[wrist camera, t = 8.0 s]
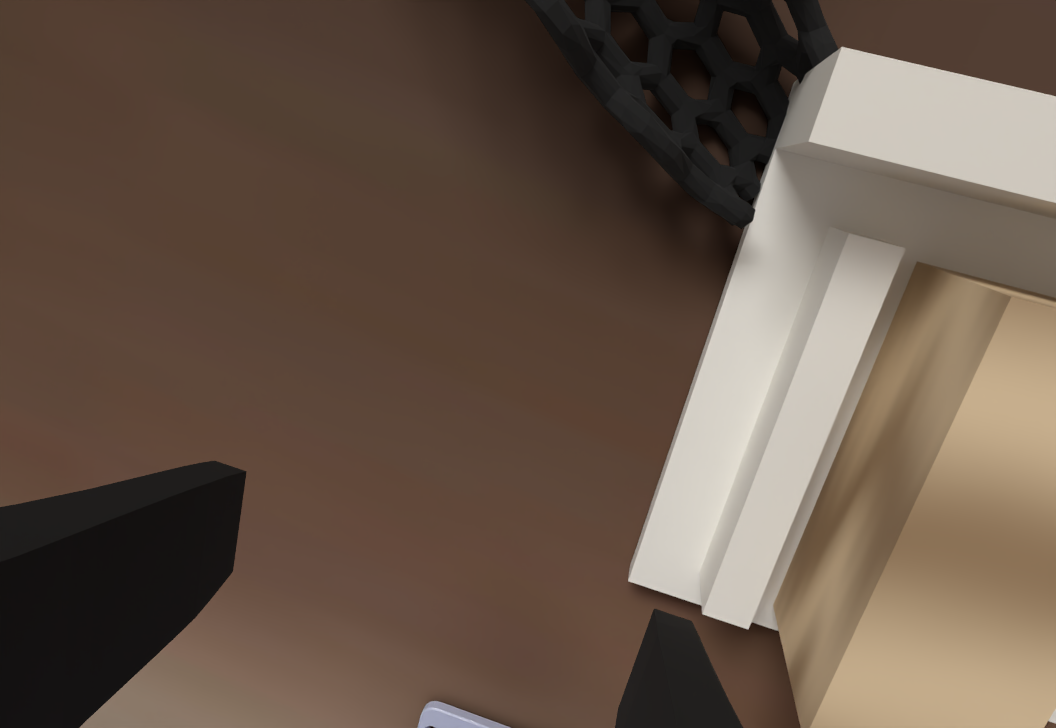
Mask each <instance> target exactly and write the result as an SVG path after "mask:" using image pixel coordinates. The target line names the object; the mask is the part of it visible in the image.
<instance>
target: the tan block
mask: <svg viewBox="0 0 1056 728" xmlns="http://www.w3.org/2000/svg"><path fill="white" fill-rule="evenodd" d="M773 607H774V612H775V616H776V621H777V625H778V630H779V634H780V638H781V643H782V647H783V652H784V656H785V661H786V665H787V669H788V674H789V678H790V683H791V687H792V692H793V696H794V700H795V705H796V709H797V714H798V718H799V723H800V727H801V728H1044V727H1045V725H1046V724H1047V722H1048V720H1049V719H1050V717H1051V715H1052V714H1053V712H1054V710H1055V709H1056V298H1055V297H1051V296H1047V295H1043V294H1039V293H1036V292H1032V291H1028V290H1024V289H1020V288H1017V287H1013V286H1009V285H1005V284H1001V283H998V282H994V281H990V280H986V279H982V278H979V277H975V276H971V275H967V274H963V273H960V272H956V271H952V270H948V269H944V268H941V267H937V266H933V265H929V264H925V263H922V262H918V261H917V263H916V265H915V267H914V270H913V272H912V274H911V277H910V279H909V282H908V284H907V286H906V289H905V291H904V294H903V296H902V298H901V301H900V303H899V306H898V308H897V310H896V313H895V315H894V317H893V320H892V322H891V325H890V327H889V329H888V332H887V334H886V337H885V339H884V341H883V344H882V346H881V349H880V351H879V353H878V356H877V358H876V360H875V363H874V365H873V368H872V370H871V372H870V375H869V377H868V380H867V382H866V384H865V387H864V389H863V392H862V394H861V396H860V399H859V401H858V403H857V406H856V408H855V411H854V413H853V415H852V418H851V420H850V423H849V425H848V427H847V430H846V432H845V435H844V437H843V439H842V442H841V444H840V446H839V449H838V451H837V454H836V456H835V458H834V461H833V463H832V466H831V468H830V470H829V473H828V475H827V477H826V480H825V482H824V485H823V487H822V489H821V492H820V494H819V497H818V499H817V501H816V504H815V506H814V509H813V511H812V513H811V516H810V518H809V520H808V523H807V525H806V528H805V530H804V532H803V535H802V537H801V540H800V542H799V544H798V547H797V549H796V552H795V554H794V556H793V559H792V561H791V563H790V566H789V568H788V571H787V573H786V575H785V578H784V580H783V583H782V585H781V587H780V590H779V592H778V595H777V597H776V599H775V602H774V604H773Z"/></svg>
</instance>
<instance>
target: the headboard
mask: <svg viewBox="0 0 1056 728" xmlns="http://www.w3.org/2000/svg"><path fill="white" fill-rule="evenodd" d="M788 100H789V105H788V109H787V114H786V117H785V119H784V122H783V125H782V127H781V130H780V133H779V135H778V138H777V141H776V143H775V146H774V149H773V152H772V154H771V157H770V159H769V162H768V164H766V166H765V169H764V172H763V175H762V178H761V181H760V183H761V188H760V191H759V193H758V194H757V195H756V196H755V198H754V201H753V204H752V207H753V208H754V209H755V214H754V219H753V221H752V222H751V223H749V224H748V225H746V226H745V228H744V231H743V234H742V237H741V240H740V243H739V246H738V249H737V252H736V255H735V257H734V260H733V263H732V266H731V269H730V272H729V275H728V278H727V281H726V284H725V287H724V290H723V293H722V296H721V299H720V302H719V305H718V308H717V311H716V314H715V317H714V320H713V322H712V325H711V328H710V331H709V334H708V337H707V340H706V343H705V346H704V349H703V352H702V355H701V358H700V361H699V364H698V367H697V370H696V373H695V376H694V379H693V382H692V385H691V387H690V390H689V393H688V396H687V399H686V402H685V405H684V408H683V411H682V414H681V417H680V420H679V423H678V426H677V429H676V432H675V435H674V438H673V441H672V444H671V447H670V450H669V452H668V455H667V458H666V461H665V464H664V467H663V470H662V473H661V476H660V479H659V482H658V485H657V488H656V491H655V494H654V497H653V500H652V503H651V506H650V509H649V512H648V515H647V517H646V520H645V523H644V526H643V529H642V532H641V535H640V538H639V541H638V544H637V547H636V550H635V553H634V556H633V559H632V562H631V565H630V570H629V579H628V581H629V582H632V583H635V584H638V585H641V586H644V587H647V588H650V589H653V590H656V591H659V592H662V593H665V594H668V595H671V596H674V597H677V598H680V599H683V600H686V601H689V602H692V603H695V604H698V605H701V606H702V614H703V615H706V616H709V617H712V618H715V619H718V620H721V621H724V622H727V623H730V624H733V625H736V626H739V627H742V628H745V629H749V627H750V624H751V622H753V623H756V624H759V625H762V626H765V627H768V628H771V629H774V630H777V631H779V630H778V625H777V621H776V616H775V612H774V607H773V604H774V602H775V599H776V597H777V595H778V592H779V590H780V587H781V585H782V583H783V580H784V578H785V575H786V573H787V571H788V568H789V566H790V563H791V561H792V559H793V556H794V554H795V552H796V549H797V547H798V544H799V542H800V540H801V537H802V535H803V532H804V530H805V528H806V525H807V523H808V520H809V518H810V516H811V513H812V511H813V509H814V506H815V504H816V501H817V499H818V497H819V494H820V492H821V489H822V487H823V485H824V482H825V480H826V477H827V475H828V473H829V470H830V468H831V466H832V463H833V461H834V458H835V456H836V454H837V451H838V449H839V446H840V444H841V442H842V439H843V437H844V435H845V432H846V430H847V427H848V425H849V423H850V420H851V418H852V415H853V413H854V411H855V408H856V406H857V403H858V401H859V399H860V396H861V394H862V392H863V389H864V387H865V384H866V382H867V380H868V377H869V375H870V372H871V370H872V368H873V365H874V363H875V360H876V358H877V356H878V353H879V351H880V349H881V346H882V344H883V341H884V339H885V337H886V334H887V332H888V329H889V327H890V325H891V322H892V320H893V317H894V315H895V313H896V310H897V308H898V306H899V303H900V301H901V298H902V296H903V294H904V291H905V289H906V286H907V284H908V282H909V279H910V277H911V274H912V272H913V270H914V267H915V265H916V263H917V261H918V262H922V263H925V264H929V265H933V266H937V267H941V268H944V269H948V270H952V271H956V272H960V273H963V274H967V275H971V276H975V277H979V278H982V279H986V280H990V281H994V282H998V283H1001V284H1005V285H1009V286H1013V287H1017V288H1020V289H1024V290H1028V291H1032V292H1036V293H1039V294H1043V295H1047V296H1051V297H1055V298H1056V96H1051V95H1047V94H1043V93H1038V92H1034V91H1030V90H1026V89H1021V88H1017V87H1013V86H1008V85H1004V84H1000V83H995V82H991V81H987V80H982V79H978V78H974V77H969V76H965V75H961V74H956V73H952V72H948V71H943V70H939V69H935V68H931V67H926V66H922V65H918V64H913V63H909V62H905V61H900V60H896V59H892V58H887V57H883V56H879V55H874V54H870V53H866V52H861V51H857V50H853V49H848V48H844V47H841V48H840V49H838V50H837V51H836V52H834V53H833V54H832V55H830V56H829V57H827V58H826V59H825V60H823V61H822V62H821V63H819V64H818V65H817V66H815V67H814V69H811V70H810V71H809V72H807V73H806V74H805V76H804V78H803V81H802V82H801V84H799V81H798V80H796V81H795V82H794V83H793V86H792V89H791V92H790V95H789V98H788ZM1048 721H1050V722H1053V723H1056V709H1055V710H1054V712H1053V714H1052V715H1051V717H1050V719H1049V720H1048Z"/></svg>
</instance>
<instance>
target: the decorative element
mask: <svg viewBox="0 0 1056 728" xmlns="http://www.w3.org/2000/svg"><path fill="white" fill-rule="evenodd" d="M525 1H526V2H527V3H528V4H529V5H530V6H531V8H532V9H533V10H534V11H535V12H536V14H537V15H538V17H539V18H540V20H541V21H542V23H543V25H544V26H545V28H546V29H547V31H548V32H549V34H550V35H551V37H552V38H553V40H554V41H555V43H556V44H557V46H558V47H559V49H560V50H561V52H562V54H563V55H564V57H565V58H566V60H567V62H568V63H569V65H570V66H571V68H572V69H573V71H574V72H575V74H576V75H577V76H578V78H579V79H580V80H581V81H582V82H583V83H584V85H585V86H586V87H587V88H588V89H589V90H590V92H591V93H592V94H593V95H594V96H595V98H596V99H597V100H598V101H599V102H600V103H601V105H602V106H603V107H604V108H605V109H606V110H607V111H608V112H609V113H610V114H611V115H612V116H613V117H614V118H615V119H616V120H617V121H618V122H619V123H620V124H621V125H622V126H623V127H624V128H625V129H626V130H627V131H628V132H629V133H630V134H631V135H632V136H633V137H634V138H635V139H636V140H637V141H638V142H639V143H640V144H641V145H642V146H643V147H644V149H645V150H646V151H647V152H648V153H649V154H650V155H651V156H652V157H653V158H654V159H655V160H656V161H657V162H658V163H659V164H660V165H661V167H662V168H663V169H664V170H665V171H666V172H667V173H668V174H669V175H670V176H671V177H672V178H673V179H674V180H675V181H676V182H677V183H678V184H679V185H680V186H681V187H682V188H683V189H684V190H685V191H686V192H687V193H688V194H689V195H690V196H692V197H693V198H694V199H696V200H697V201H699V202H700V203H701V204H703V205H704V206H706V207H707V208H708V209H710V210H711V211H713V212H714V213H716V214H718V215H720V216H721V217H723V218H724V219H725V220H726V221H727V222H729V223H730V224H731V225H736V226H738V227H739V228H741V229H742V228H744V227H745V226H746V225H748V224H749V223H751V222H752V221H753V219H754V214H755V209H754V208H753V207H752V206H751V205H750V204H749V203H747V202H748V201H749V200H751V199H753V198H754V197H755V196H756V195H757V194H758V193H759V191H760V188H761V183H760V181H759V180H758V179H757V176H756V170H755V165H754V161H758V162H762V163H765V164H768V162H769V159H770V157H771V154H772V152H773V149H774V146H775V143H776V141H777V138H778V135H779V133H780V130H781V127H782V125H783V122H784V119H785V117H786V114H787V109H788V105H789V100H788V98H787V96H786V94H785V92H784V90H783V89H782V87H781V85H780V83H779V81H778V77H779V74H780V71H781V67H782V66H783V67H784V68H786V69H787V70H788V71H790V72H791V73H792V74H794V75H795V76H797V78H798V81H799V84H801V82H802V81H803V78H804V76H805V74H806V73H807V72H809V71H810V70H811V69H814V67H815V66H817V65H818V64H819V63H821V62H822V61H823V60H825V59H826V58H827V57H829V56H830V55H832V54H833V53H834V52H836V51H837V50H838V48H837V45H836V43H835V41H834V39H833V37H832V35H831V32H830V30H829V28H828V26H827V23H826V21H825V19H824V16H823V14H822V11H821V8H820V5H819V2H818V0H784V1H786V3H787V5H788V8H789V10H790V13H791V15H792V18H793V20H794V23H795V25H796V28H797V30H798V40H799V41H797V40H796V39H794V38H793V37H791V36H790V35H788V34H787V32H786V30H785V28H784V25H783V23H782V21H781V19H780V17H779V15H778V13H777V11H776V9H775V7H774V5H773V3H772V1H771V0H700V3H699V7H698V10H697V14H696V17H695V20H694V22H673V21H671V20H669V19H667V18H666V17H665V15H664V13H663V12H662V10H661V9H660V7H659V5H658V4H657V2H656V1H655V0H584V1H585V20H582V19H579V18H577V17H576V16H575V15H574V13H573V12H572V10H571V9H570V8H569V6H568V5H567V3H566V2H565V1H564V0H525ZM723 11H727V12H731V13H734V14H738V15H741V16H745V17H746V19H747V21H748V23H749V25H750V27H751V29H752V31H753V33H754V35H755V37H756V40H757V42H758V44H759V46H760V48H761V50H760V54H759V57H758V60H757V63H756V66H750V65H746V64H742V63H738V62H734V61H733V60H732V59H731V57H730V55H729V54H728V52H727V50H726V48H725V47H724V45H723V43H722V42H721V40H720V38H719V37H718V35H717V31H718V27H719V24H720V20H721V16H722V13H723ZM611 12H629V13H632V15H633V16H634V18H635V19H636V21H637V22H638V24H639V25H640V27H641V28H642V30H643V31H644V33H645V34H646V36H647V37H648V39H649V46H648V58H647V63H640V62H631V61H630V60H629V58H628V57H627V56H626V55H625V53H624V52H623V51H622V50H621V48H620V47H619V46H618V44H617V43H616V41H615V40H614V39H613V37H612V36H611ZM673 49H685V50H695V51H696V53H697V54H698V56H699V57H700V59H701V61H702V62H703V64H704V65H705V67H706V69H707V70H708V72H709V73H710V75H711V82H710V88H709V94H708V100H695V99H693V98H691V97H689V96H688V95H687V94H686V92H685V91H684V90H683V89H682V87H681V86H680V85H679V83H678V82H677V81H676V80H675V78H674V77H673V76H672V74H671V73H670V69H671V60H672V52H673ZM643 89H644V90H650V91H651V92H652V93H653V95H654V96H655V97H656V98H657V100H658V101H659V102H660V103H661V105H662V106H663V107H664V108H665V110H666V111H667V112H668V113H669V115H670V116H671V121H672V127H673V131H672V130H669V128H668V127H667V126H666V125H665V124H664V123H663V122H662V121H661V120H660V119H659V118H658V116H657V115H656V114H655V113H654V112H653V111H652V110H651V109H650V108H649V107H648V105H647V104H646V101H645V97H644V93H643ZM734 89H737V90H741V91H745V92H749V93H752V94H755V96H756V98H757V100H758V102H759V104H760V105H761V107H762V109H763V111H764V113H765V115H766V117H767V119H768V126H767V133H766V137H761V136H757V135H752V134H748V133H747V132H746V131H745V129H744V128H743V127H742V125H741V124H740V122H739V121H738V119H737V118H736V116H735V115H734V113H733V112H732V110H731V104H732V98H733V93H734ZM700 124H706V125H708V126H711V127H713V128H714V130H715V131H716V132H717V134H718V135H719V137H720V138H721V140H722V141H723V142H724V144H725V145H726V147H727V148H728V153H729V161H730V166H725V165H720V164H719V162H718V161H717V160H716V159H715V158H714V157H713V156H712V155H711V154H710V152H709V151H708V150H707V149H706V148H705V147H704V146H703V145H702V143H701V142H700V140H699V135H698V130H697V125H700ZM737 193H738V194H739V195H740V196H741V197H742V198H743V199H744V200H745V201H744V200H742V199H741V198H739V196H738V194H737Z"/></svg>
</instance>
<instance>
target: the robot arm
mask: <svg viewBox="0 0 1056 728" xmlns="http://www.w3.org/2000/svg"><path fill="white" fill-rule="evenodd" d="M245 478H246V471H244V470H241V469H238V468H235V467H232V466H229V465H226V464H223V463H220V462H217V461H210V462H203V463H198V464H193V465H188V466H183V467H179V468H175V469H170V470H166V471H162V472H158V473H154V474H150V475H146V476H142V477H137V478H133V479H129V480H125V481H121V482H117V483H113V484H109V485H104V486H100V487H96V488H92V489H88V490H83V491H78V492H73V493H69V494H64V495H59V496H54V497H50V498H45V499H40V500H35V501H30V502H26V503H21V504H16V505H10V506H5V507H0V728H79V727H80V726H81V725H82V724H83V723H84V722H85V721H86V720H87V719H88V718H89V717H91V716H92V715H93V714H94V713H95V712H96V711H97V710H98V709H99V708H100V707H101V706H102V705H103V704H104V703H105V702H107V701H108V700H109V699H110V698H111V697H112V696H113V695H114V694H115V693H116V692H117V691H118V690H119V689H120V688H122V687H123V686H124V685H125V684H126V683H127V682H128V681H129V680H130V679H131V678H132V677H133V676H134V675H135V674H137V673H138V672H139V671H140V670H141V669H142V668H143V667H144V666H145V665H146V664H147V663H148V662H149V661H150V660H152V659H153V658H154V657H155V656H156V655H157V654H158V653H159V652H160V651H161V650H162V649H163V648H164V647H165V646H166V645H167V644H168V643H169V642H171V641H172V640H173V639H174V638H175V637H176V636H177V635H178V634H179V633H180V632H181V631H182V630H183V629H184V628H185V627H186V626H187V625H188V624H189V623H190V622H191V621H192V620H193V619H194V618H195V617H196V616H197V615H198V614H199V613H200V611H201V610H202V609H203V608H204V607H205V605H206V604H207V603H208V602H209V601H210V600H211V598H212V597H213V596H214V595H215V593H216V592H217V591H218V590H219V588H220V587H221V586H222V584H223V583H224V582H225V581H226V579H227V578H228V577H229V576H230V574H231V573H232V572H233V566H234V559H235V552H236V544H237V537H238V530H239V522H240V515H241V507H242V500H243V493H244V485H245ZM429 726H433V727H435V728H511V727H508V726H505V725H502V724H500V723H497V722H494V721H491V720H489V719H486V718H483V717H480V716H478V715H475V714H472V713H470V712H467V711H464V710H461V709H459V708H456V707H453V706H450V705H448V704H445V703H442V702H438V701H431V702H429V703H427V704H426V705H425V707H424V709H423V711H422V714H421V716H420V720H419V724H418V728H430V727H429ZM615 728H743V727H742V725H741V723H740V721H739V719H738V717H737V715H736V713H735V711H734V709H733V707H732V705H731V703H730V702H729V700H728V698H727V696H726V693H725V691H724V689H723V687H722V685H721V683H720V681H719V679H718V677H717V675H716V673H715V670H714V668H713V666H712V664H711V662H710V660H709V657H708V655H707V653H706V651H705V649H704V646H703V644H702V642H701V640H700V637H699V635H698V633H697V631H696V629H695V627H694V625H693V623H692V621H690V620H687V619H684V618H681V617H678V616H675V615H672V614H669V613H666V612H663V611H660V610H657V609H654V610H653V613H652V616H651V619H650V621H649V624H648V627H647V630H646V633H645V635H644V638H643V641H642V644H641V647H640V649H639V652H638V655H637V658H636V661H635V663H634V666H633V669H632V672H631V674H630V677H629V680H628V683H627V686H626V688H625V691H624V694H623V697H622V700H621V702H620V705H619V708H618V713H617V719H616V725H615Z"/></svg>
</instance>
